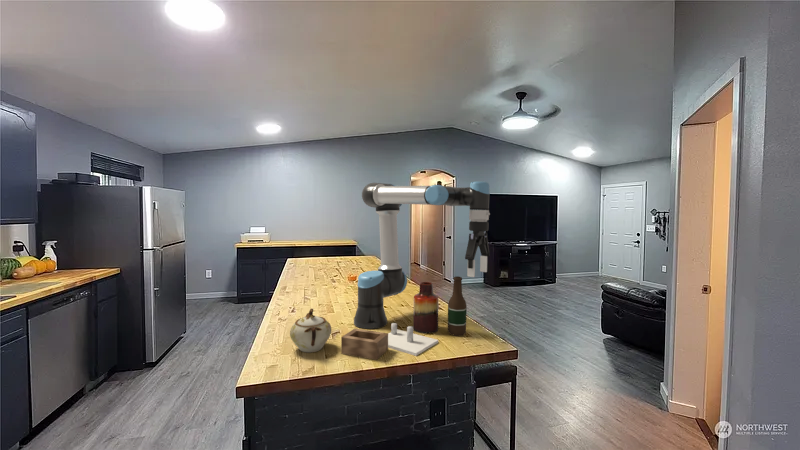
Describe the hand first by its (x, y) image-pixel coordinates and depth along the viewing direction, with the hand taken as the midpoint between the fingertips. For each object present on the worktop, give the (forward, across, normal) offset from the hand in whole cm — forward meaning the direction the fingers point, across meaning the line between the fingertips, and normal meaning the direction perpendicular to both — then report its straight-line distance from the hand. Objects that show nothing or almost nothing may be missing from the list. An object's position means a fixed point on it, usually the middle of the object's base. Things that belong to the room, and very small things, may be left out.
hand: (477, 274), depth 137 cm
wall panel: (+27, -19, +21) cm, 39 cm away
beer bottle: (+27, +3, +10) cm, 29 cm away
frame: (+27, -34, +29) cm, 52 cm away
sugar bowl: (+27, -44, +47) cm, 70 cm away
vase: (+27, -1, +23) cm, 35 cm away
